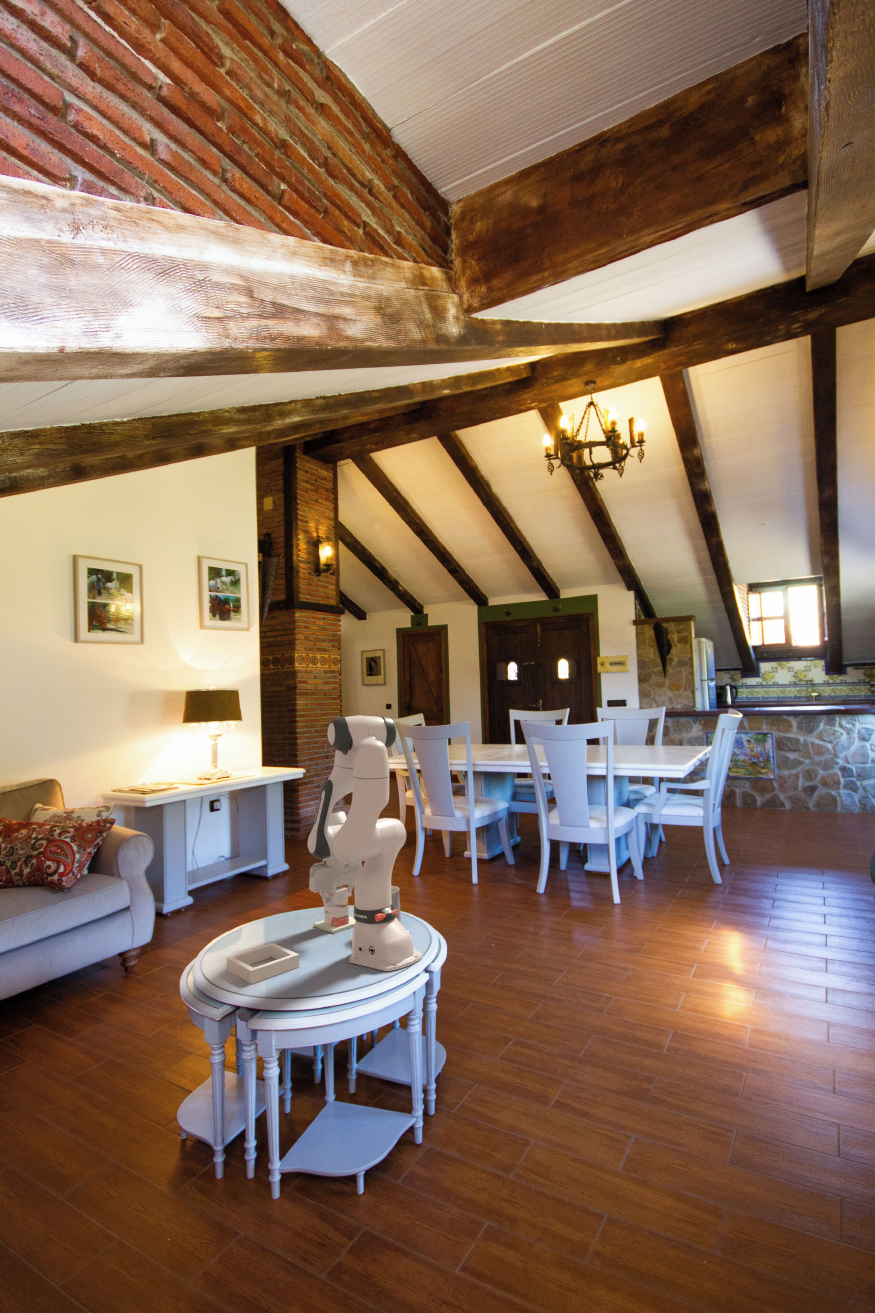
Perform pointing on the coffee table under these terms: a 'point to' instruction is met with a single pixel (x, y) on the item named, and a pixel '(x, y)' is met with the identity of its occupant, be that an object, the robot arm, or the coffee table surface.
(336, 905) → the ink cartridge box
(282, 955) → the cartridge dock
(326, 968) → the coffee table surface
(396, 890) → the pillar candle
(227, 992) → the coffee table surface
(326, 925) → the cream square pad
